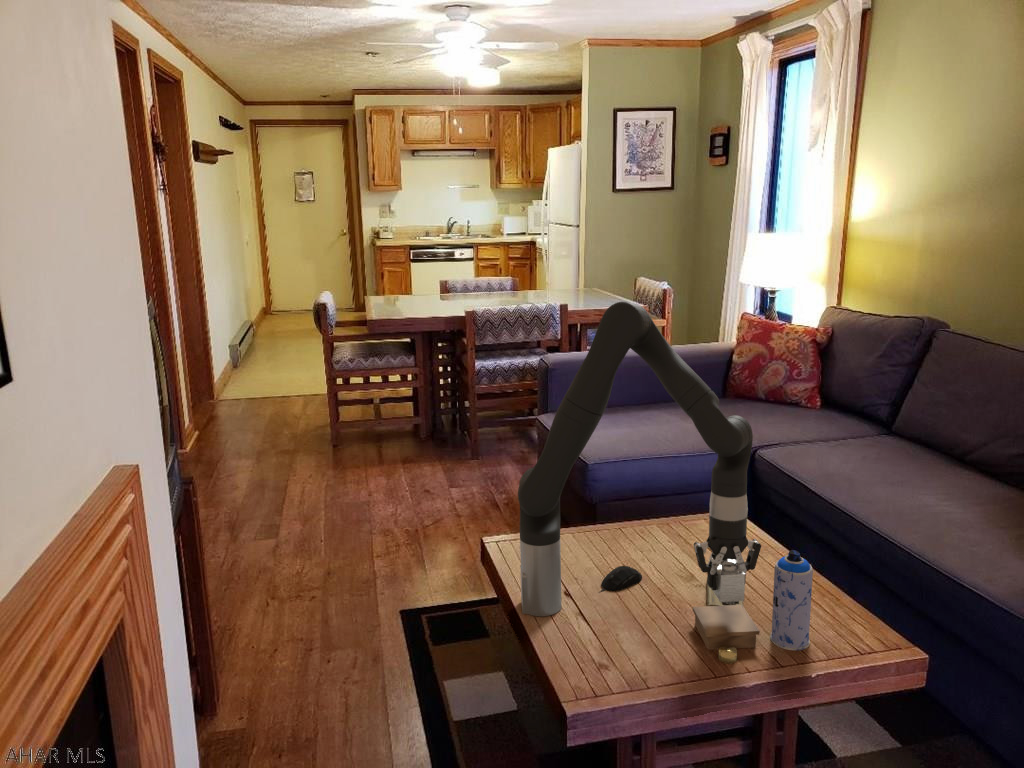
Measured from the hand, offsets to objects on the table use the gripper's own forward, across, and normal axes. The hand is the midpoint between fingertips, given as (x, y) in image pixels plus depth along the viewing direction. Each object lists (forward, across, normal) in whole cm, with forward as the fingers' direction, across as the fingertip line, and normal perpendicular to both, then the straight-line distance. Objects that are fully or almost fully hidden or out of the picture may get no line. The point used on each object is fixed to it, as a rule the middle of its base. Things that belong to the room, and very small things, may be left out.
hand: (726, 587), depth 164 cm
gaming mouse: (+12, +18, -26) cm, 34 cm away
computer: (+12, -5, -16) cm, 20 cm away
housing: (+1, 0, 0) cm, 1 cm away
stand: (+11, 0, 0) cm, 11 cm away
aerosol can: (+11, -13, +3) cm, 18 cm away
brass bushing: (+11, +2, +9) cm, 14 cm away
